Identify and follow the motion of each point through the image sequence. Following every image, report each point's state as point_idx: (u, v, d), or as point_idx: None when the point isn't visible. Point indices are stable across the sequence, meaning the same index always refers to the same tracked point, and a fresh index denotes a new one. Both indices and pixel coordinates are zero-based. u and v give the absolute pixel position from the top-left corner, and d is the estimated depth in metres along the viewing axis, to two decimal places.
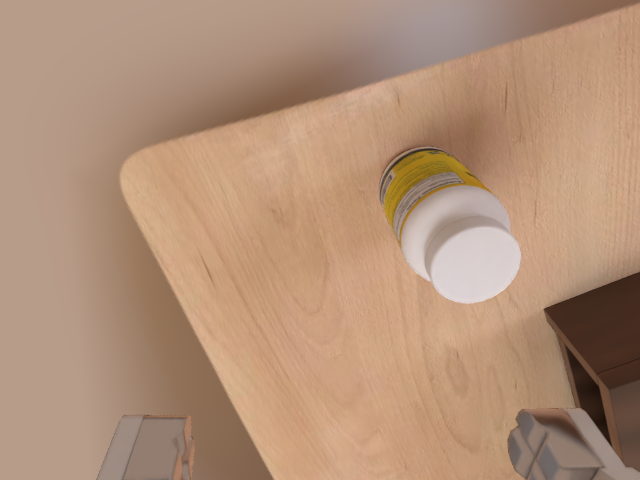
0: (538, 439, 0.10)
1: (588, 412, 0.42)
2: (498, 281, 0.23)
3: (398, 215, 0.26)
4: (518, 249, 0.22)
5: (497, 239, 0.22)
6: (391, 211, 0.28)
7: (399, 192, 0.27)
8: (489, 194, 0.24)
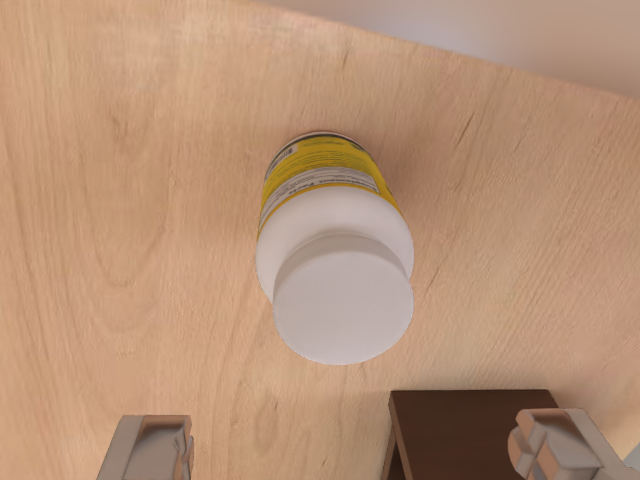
0: (538, 439, 0.10)
1: None
2: (363, 347, 0.15)
3: (274, 198, 0.17)
4: (410, 313, 0.15)
5: (390, 287, 0.14)
6: (269, 191, 0.19)
7: (290, 171, 0.19)
8: (404, 223, 0.16)
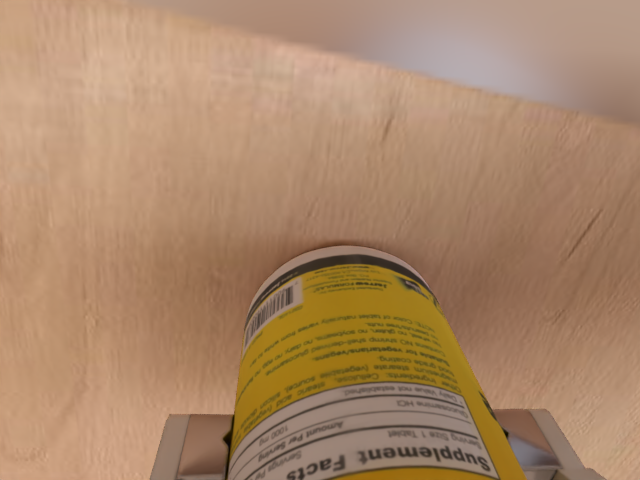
0: None
1: None
2: None
3: (255, 461, 0.08)
4: None
5: None
6: (247, 405, 0.09)
7: (289, 371, 0.09)
8: None
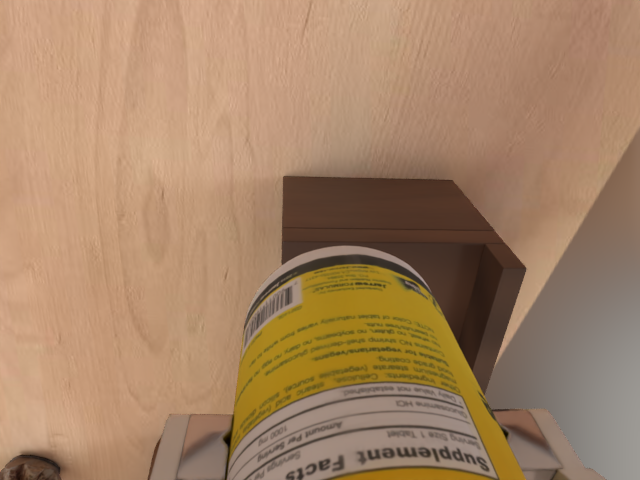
0: None
1: None
2: None
3: (255, 461, 0.08)
4: None
5: None
6: (246, 405, 0.09)
7: (289, 371, 0.09)
8: None
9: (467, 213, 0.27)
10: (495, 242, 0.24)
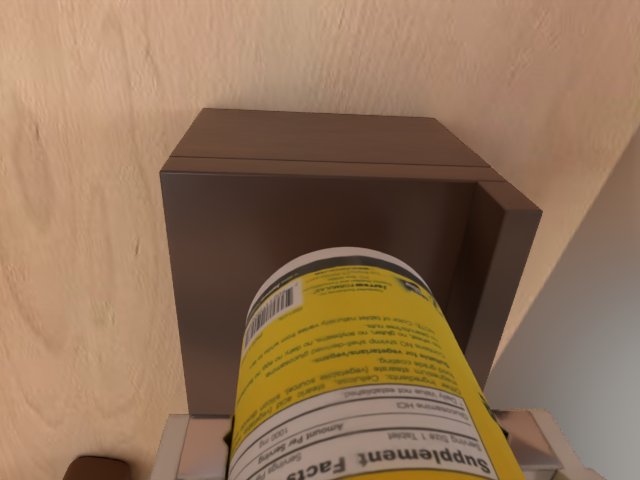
0: None
1: None
2: None
3: (256, 463, 0.08)
4: None
5: None
6: (247, 407, 0.09)
7: (290, 373, 0.09)
8: None
9: (452, 148, 0.19)
10: (492, 179, 0.16)
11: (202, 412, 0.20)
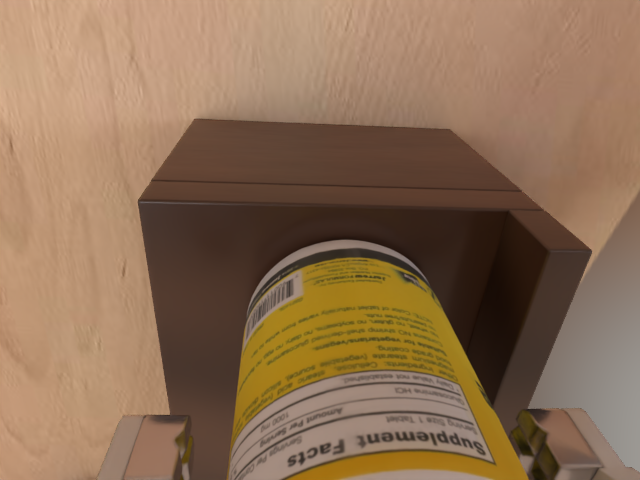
0: (538, 439, 0.10)
1: None
2: None
3: (257, 447, 0.08)
4: None
5: None
6: (248, 394, 0.10)
7: (290, 361, 0.09)
8: None
9: (474, 167, 0.17)
10: (526, 207, 0.13)
11: None
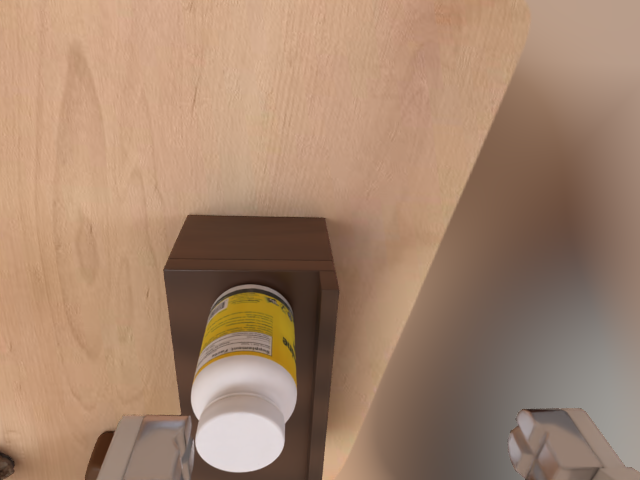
0: (538, 439, 0.10)
1: None
2: (255, 461, 0.24)
3: (205, 355, 0.26)
4: (282, 442, 0.24)
5: (266, 429, 0.23)
6: (204, 342, 0.28)
7: (218, 330, 0.28)
8: (286, 376, 0.25)
9: (320, 246, 0.35)
10: (327, 269, 0.32)
11: (186, 391, 0.36)
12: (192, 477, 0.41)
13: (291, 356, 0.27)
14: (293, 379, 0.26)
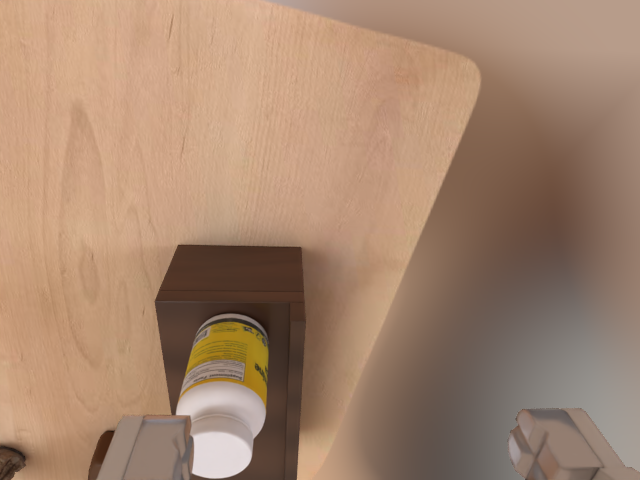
0: (538, 439, 0.10)
1: None
2: (228, 470, 0.29)
3: (188, 379, 0.31)
4: (250, 455, 0.29)
5: (236, 445, 0.28)
6: (188, 367, 0.33)
7: (200, 357, 0.32)
8: (255, 398, 0.30)
9: (293, 277, 0.40)
10: (297, 301, 0.37)
11: (176, 401, 0.41)
12: None
13: (262, 380, 0.32)
14: (262, 400, 0.31)
